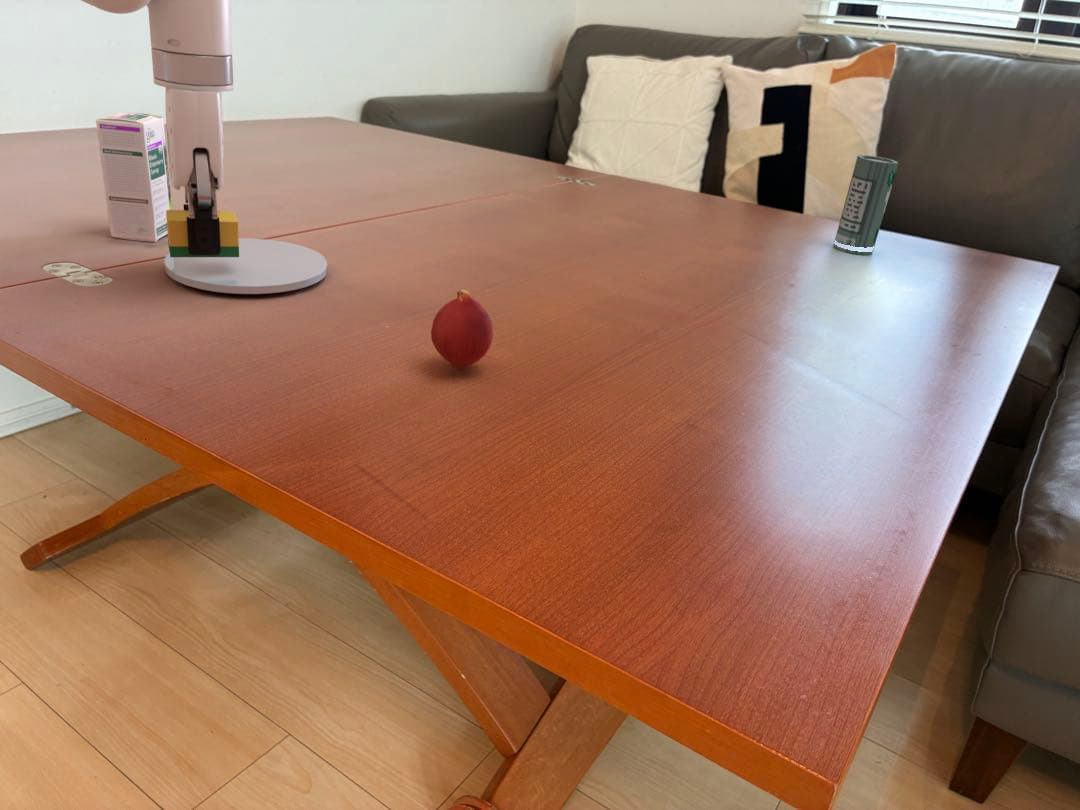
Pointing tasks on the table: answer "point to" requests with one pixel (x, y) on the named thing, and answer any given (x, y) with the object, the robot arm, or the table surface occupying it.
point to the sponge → (180, 236)
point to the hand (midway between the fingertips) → (202, 245)
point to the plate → (251, 268)
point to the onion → (462, 331)
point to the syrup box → (135, 175)
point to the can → (866, 202)
